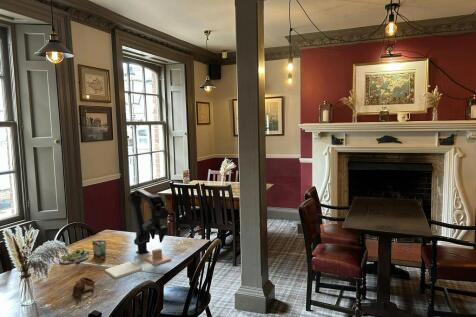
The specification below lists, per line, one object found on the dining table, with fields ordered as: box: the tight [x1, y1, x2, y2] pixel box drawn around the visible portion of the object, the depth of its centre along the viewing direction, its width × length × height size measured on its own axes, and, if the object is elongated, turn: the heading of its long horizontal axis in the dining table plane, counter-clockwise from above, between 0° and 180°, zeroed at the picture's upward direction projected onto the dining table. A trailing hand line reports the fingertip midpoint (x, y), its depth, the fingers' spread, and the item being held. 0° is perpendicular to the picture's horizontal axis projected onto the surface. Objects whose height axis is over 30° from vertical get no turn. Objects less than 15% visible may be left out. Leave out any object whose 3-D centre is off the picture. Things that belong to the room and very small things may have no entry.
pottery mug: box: [72, 277, 96, 297], centre depth 171 cm, size 12×10×8 cm
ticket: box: [104, 261, 143, 280], centre depth 197 cm, size 14×16×1 cm
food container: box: [91, 239, 108, 261], centre depth 219 cm, size 12×6×10 cm, turn 47°
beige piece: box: [143, 248, 172, 266], centre depth 212 cm, size 14×11×6 cm
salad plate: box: [59, 247, 91, 265], centre depth 217 cm, size 19×18×5 cm
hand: (156, 240), depth 212 cm, fingers open, 9 cm apart
